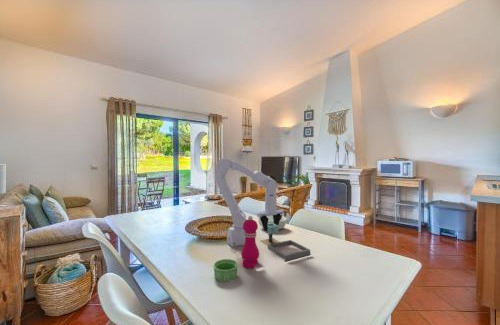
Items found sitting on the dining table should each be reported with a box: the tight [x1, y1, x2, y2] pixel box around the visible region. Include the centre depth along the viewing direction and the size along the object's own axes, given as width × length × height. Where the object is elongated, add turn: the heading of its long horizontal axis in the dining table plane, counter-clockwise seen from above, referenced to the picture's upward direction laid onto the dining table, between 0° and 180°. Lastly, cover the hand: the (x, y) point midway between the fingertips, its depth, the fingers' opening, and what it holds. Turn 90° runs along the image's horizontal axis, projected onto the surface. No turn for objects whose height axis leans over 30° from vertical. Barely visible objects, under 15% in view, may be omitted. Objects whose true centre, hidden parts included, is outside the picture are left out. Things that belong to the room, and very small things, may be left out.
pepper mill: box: [240, 215, 260, 270], centre depth 93 cm, size 7×7×20 cm
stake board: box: [259, 233, 280, 247], centre depth 116 cm, size 8×8×5 cm
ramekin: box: [212, 258, 239, 282], centre depth 85 cm, size 9×9×4 cm
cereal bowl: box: [258, 215, 287, 231], centre depth 140 cm, size 17×17×7 cm
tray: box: [267, 239, 311, 263], centre depth 105 cm, size 14×14×3 cm
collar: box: [262, 223, 279, 235], centre depth 116 cm, size 6×7×4 cm
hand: (270, 229), depth 116 cm, fingers closed on collar, 6 cm apart
